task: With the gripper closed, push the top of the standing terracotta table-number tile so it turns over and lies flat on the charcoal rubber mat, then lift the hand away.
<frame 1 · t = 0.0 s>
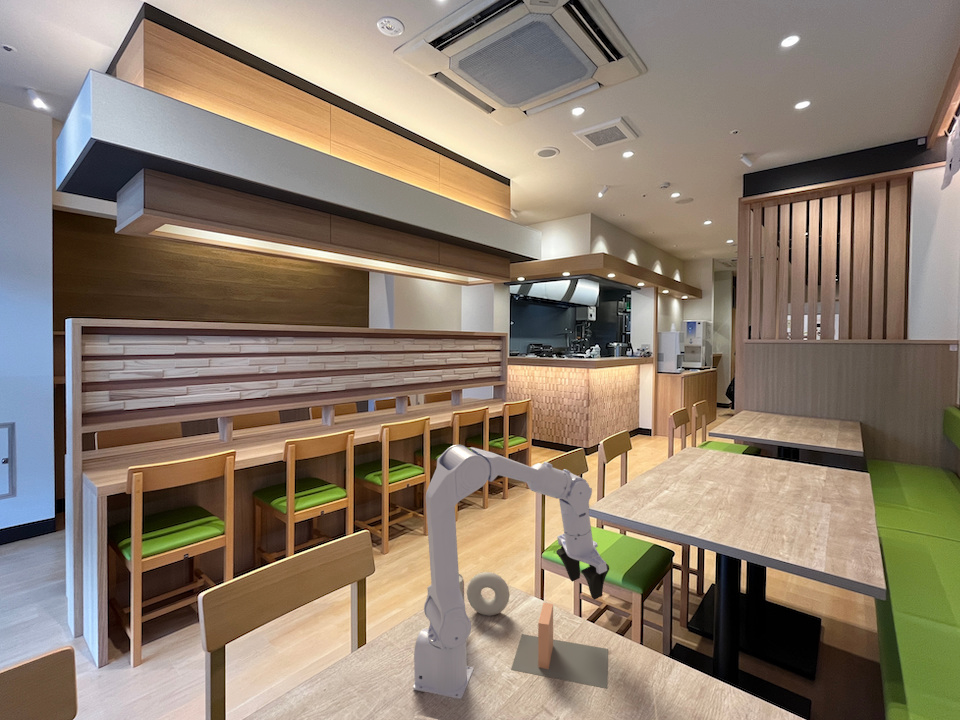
hand: (585, 587, 101), 11 cm above the table, tool pointing down, fingers open, 7 cm apart
tile: (546, 656, 95), resting on mat
energy drink: (452, 632, 103), on the table
donut: (488, 615, 109), on the table
mat: (561, 660, 94), on the table
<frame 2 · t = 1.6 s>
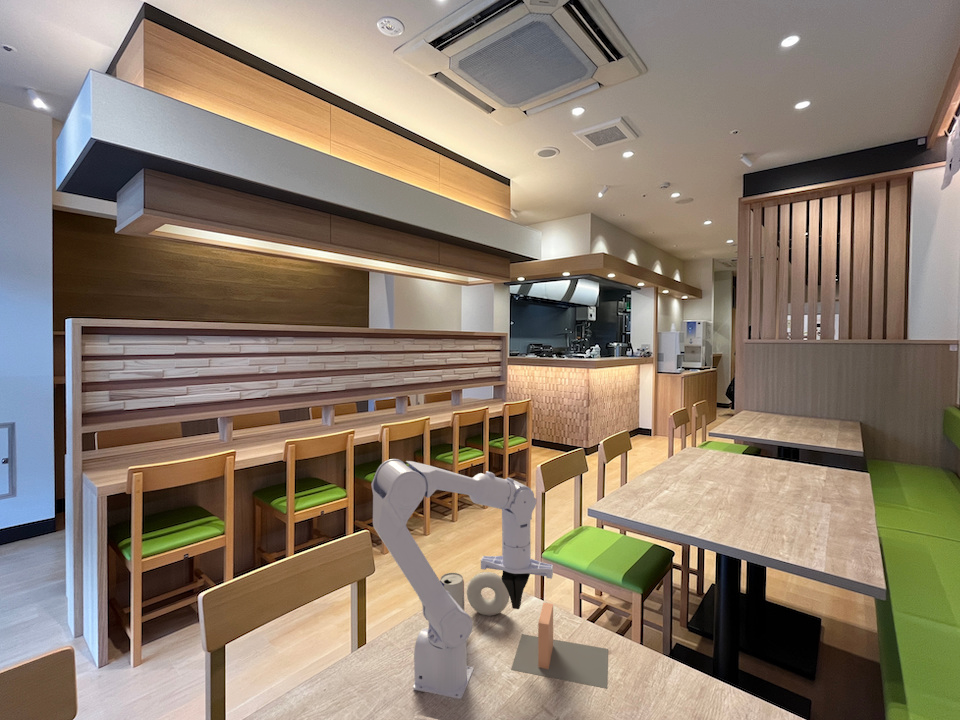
hand: (516, 606, 96), 10 cm above the table, tool pointing down, fingers closed
nothing on the table moved.
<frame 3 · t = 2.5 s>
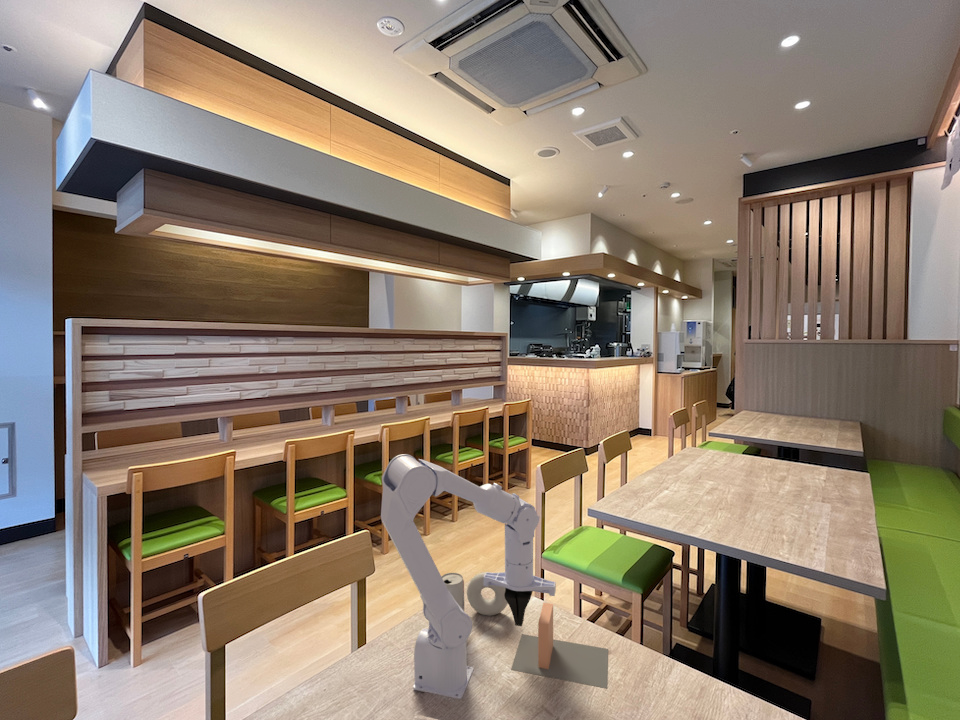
hand: (519, 622, 96), 6 cm above the table, tool pointing down, fingers closed
nothing on the table moved.
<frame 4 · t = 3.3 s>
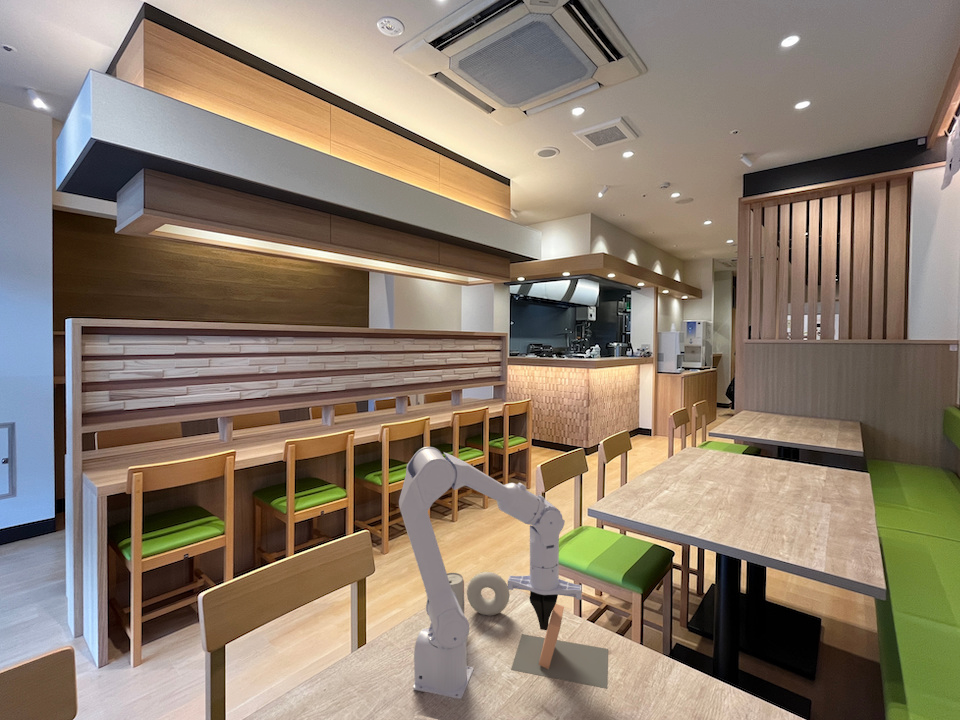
hand: (544, 626, 94), 6 cm above the table, tool pointing down, fingers closed
tile: (546, 655, 95), point 1 cm above the table, tilted 14°, touching mat
everything else where it was.
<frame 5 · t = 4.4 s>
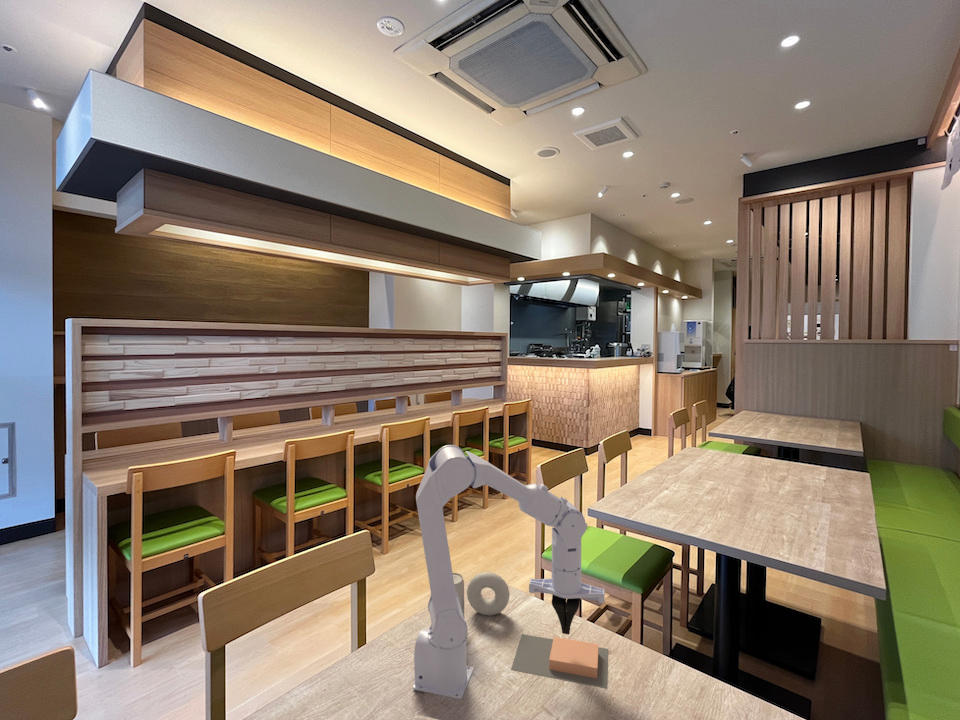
hand: (566, 630, 93), 6 cm above the table, tool pointing down, fingers closed
tile: (551, 652, 94), point 1 cm above the table, tilted 90°, touching mat
everything else where it was.
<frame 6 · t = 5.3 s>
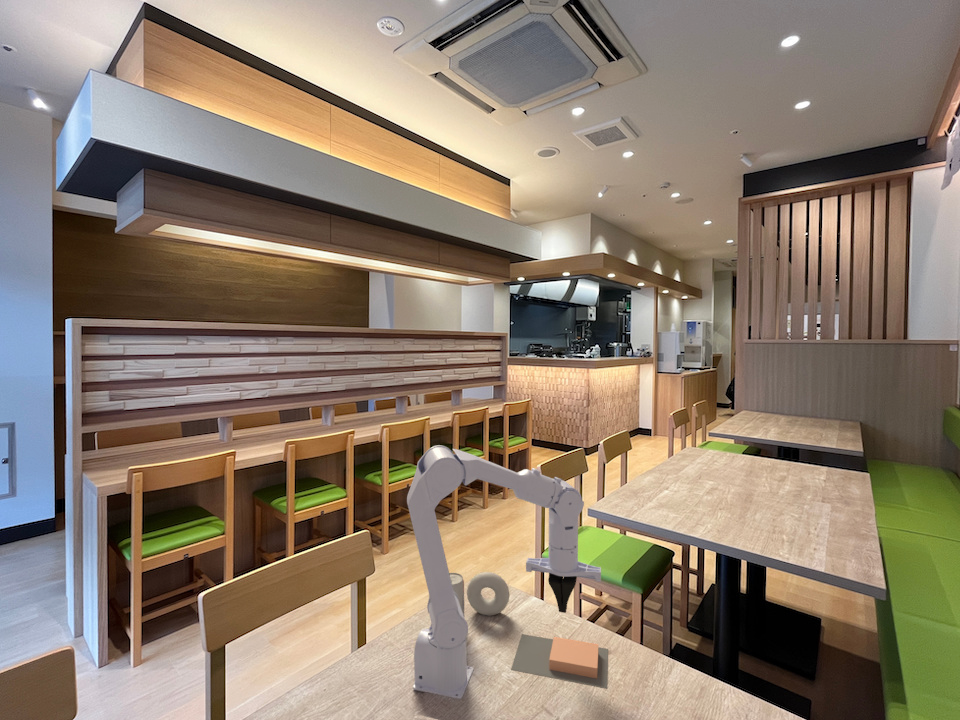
hand: (562, 609, 94), 10 cm above the table, tool pointing down, fingers closed
nothing on the table moved.
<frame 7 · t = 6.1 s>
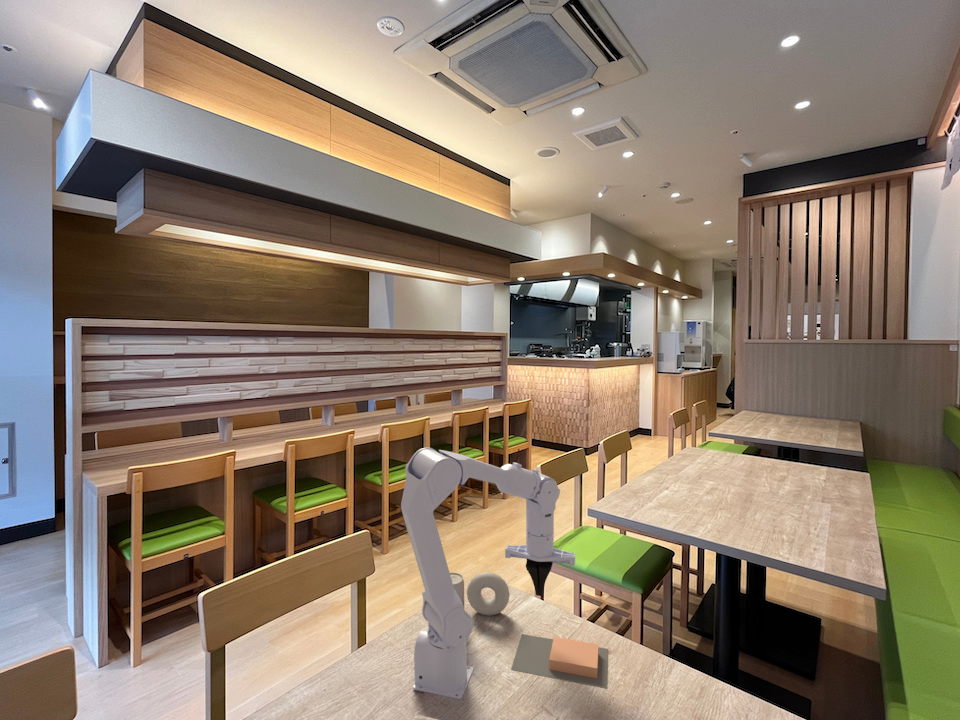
hand: (539, 593, 99), 10 cm above the table, tool pointing down, fingers closed
nothing on the table moved.
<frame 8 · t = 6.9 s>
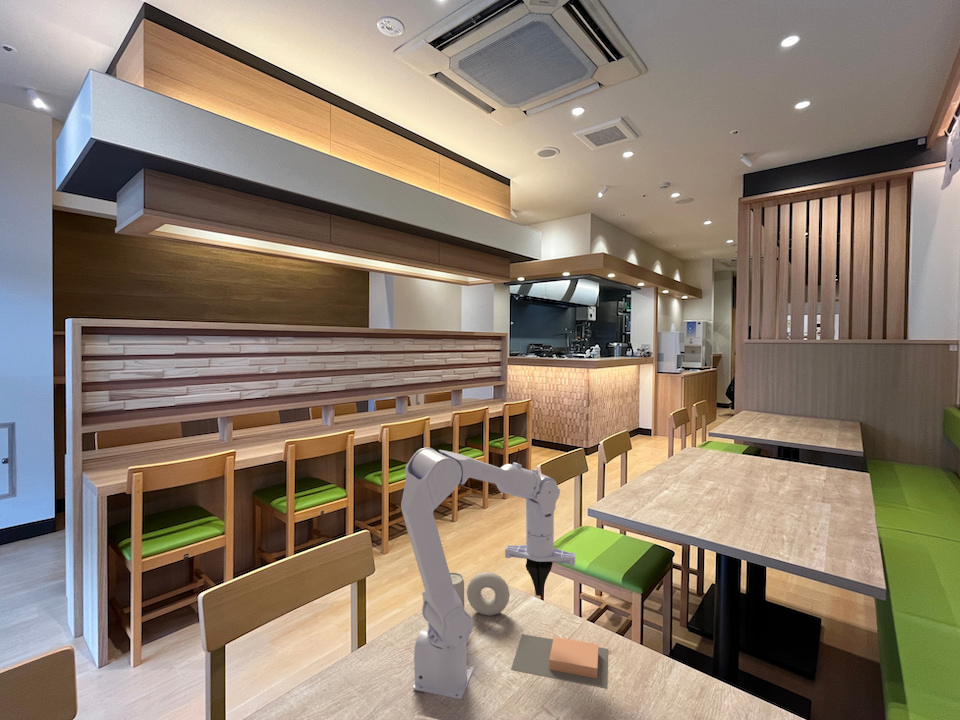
hand: (539, 593, 99), 10 cm above the table, tool pointing down, fingers closed
nothing on the table moved.
at the end: tile tilted 90°; tile inside the target area on the mat (0.9 cm from its centre), point 1.4 cm above the mat's base; tile touching mat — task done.
